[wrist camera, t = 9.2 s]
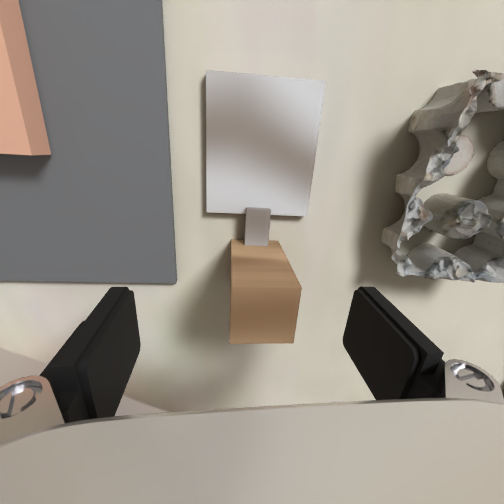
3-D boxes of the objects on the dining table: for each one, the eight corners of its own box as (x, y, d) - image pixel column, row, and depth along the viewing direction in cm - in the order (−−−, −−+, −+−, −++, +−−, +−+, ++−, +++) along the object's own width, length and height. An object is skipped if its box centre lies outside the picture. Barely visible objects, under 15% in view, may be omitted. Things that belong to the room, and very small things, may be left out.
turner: (295, 282, 18) (324, 343, 12) (207, 281, 17) (196, 343, 12) (322, 82, 14) (386, 38, 8) (206, 72, 13) (188, 17, 7)
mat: (159, -47, 11) (157, -53, 11) (177, 280, 17) (175, 283, 17) (-277, -103, 10) (-297, -113, 9) (-94, 276, 16) (-101, 279, 15)
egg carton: (416, 77, 14) (484, 51, 10) (537, 96, 15) (642, 78, 11) (364, 257, 18) (399, 287, 14) (463, 265, 19) (521, 294, 15)
